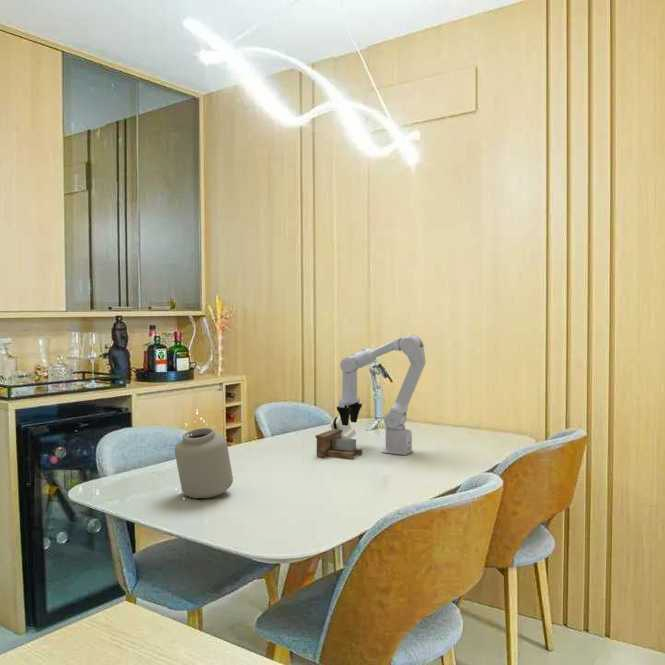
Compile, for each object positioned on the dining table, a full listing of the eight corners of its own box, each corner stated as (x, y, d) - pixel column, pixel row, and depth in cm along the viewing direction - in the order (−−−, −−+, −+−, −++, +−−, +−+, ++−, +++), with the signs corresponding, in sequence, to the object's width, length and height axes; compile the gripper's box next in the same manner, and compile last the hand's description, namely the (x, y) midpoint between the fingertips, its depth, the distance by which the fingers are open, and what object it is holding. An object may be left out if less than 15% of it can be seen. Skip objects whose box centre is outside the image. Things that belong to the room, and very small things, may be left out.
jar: (192, 508, 177) (192, 415, 176) (158, 498, 186) (157, 410, 185) (243, 492, 192) (243, 407, 191) (209, 484, 201) (209, 402, 200)
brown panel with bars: (365, 453, 245) (365, 432, 244) (348, 461, 232) (348, 439, 231) (333, 449, 251) (333, 428, 250) (315, 457, 238) (315, 435, 237)
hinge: (346, 441, 266) (338, 417, 267) (336, 444, 267) (328, 421, 268) (356, 433, 282) (348, 411, 283) (346, 436, 283) (338, 414, 284)
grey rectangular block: (356, 455, 241) (356, 439, 240) (351, 458, 237) (351, 441, 237) (336, 453, 244) (336, 437, 244) (331, 455, 241) (331, 439, 241)
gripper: (348, 385, 260) (348, 420, 261) (331, 389, 247) (331, 425, 248) (364, 386, 257) (364, 421, 258) (348, 390, 244) (348, 427, 245)
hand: (349, 423), depth 253 cm, fingers open, 7 cm apart
